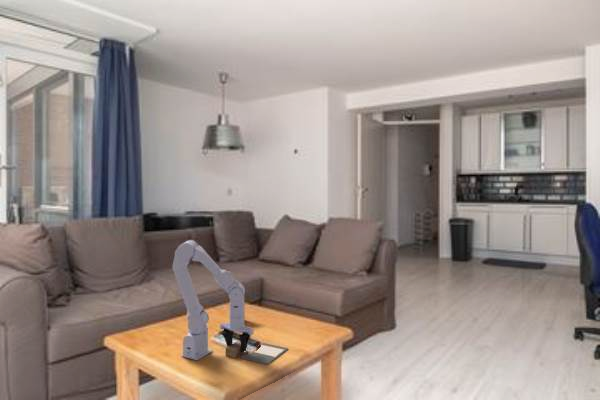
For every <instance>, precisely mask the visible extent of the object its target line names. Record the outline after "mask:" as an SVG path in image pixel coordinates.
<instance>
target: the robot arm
mask: <svg viewBox="0 0 600 400" xmlns="http://www.w3.org/2000/svg"><path fill="white" fill-rule="evenodd" d="M190 261H193V262H200V263H201V264H202V265H203V267H205V268H206V269H207V270H208V271H209V272H210V273H211V274H213V276H214V280H215V282H216V283H217V284H218V285H219V286H220V287H221V288H222V289H223V290H224V291H225V292H226V293H228V296H227V297H228V299H229V313H228V314H229V320H228V321H229V322H228V323H226V322H222V323H220V324H219V329H220V330H223V331H221V335H222V336H223V338H224V341H225V342H226V347H228V346H230V345H232V344H233V340H234V339H233V337H234V332H237V333H239V334H240V335H238V336H239V337H238V338H239V341H241V352H244V351H246V347H247V348H248V343H249V340H250V338H251V337H252V336H253V335H254V332H255V330H254V328H251V327H249V326H246V325H245V321H244V305H245V293H246V288H245V286H244V284H243V283H241V282H240V281H239V280H236V279H235V278H234V276H232V272H231V271H230V270H229V271H228V270H227V269H222V268H220V266H219V265H218V264H217V263H216V262H215V260H214V259H212V257H211V256H210V255H209V254H208V252H207V251H205V249H204V248H203V246H201V245H200V244H198V242H196V241H195V240H194V239H193V240H192V239H188V240H186V241H185V242H182V243H181V244H179V245H178V247H177V248H176V249H175V251H174V257H173V263H172V267H171V268H172V270H173V273H174V276H175V279H176V282H177V285H178V287H179V291H180V294H181V297H182V298H183V302H184V305H185V307H186V318H187V320H188V321H187V322H188V323H187V329H188V333H187V334H186V335H185V337H184V338H183V339H182V354H181V357H183V358H186V359H187V358H188V359H190V360H194V361H199V360H200V359H202V358H204V357H205V356H207V355H209V354H211V353H212V352H213V349H209V328H208V325H207V324H208V322H209V319H210V316H209V314H208V312H207V311H205V309H204V307H203V305H202V304H201V302H200V300H199V298H198V294H197V291H196V289H195V286H194V284H193V283H194V282H193V280H192V277H191V275H190V272H189V269H188V265H189V263H190Z"/></svg>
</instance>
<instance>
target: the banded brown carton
mask: <svg viewBox="0 0 600 400" xmlns="http://www.w3.org/2000/svg"><path fill="white" fill-rule="evenodd" d="M246 348H247V349H248V346H247V347H246ZM242 353H243V352H241V341H240V340H237V341H235V342H234V343H233V342H232V345H230V346H228V347H227V346H226V347H225V357H227V358H231V359H237V358H238V357H241V356H243V354H244V353H243V354H242Z"/></svg>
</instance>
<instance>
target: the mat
mask: <svg viewBox="0 0 600 400" xmlns="http://www.w3.org/2000/svg"><path fill="white" fill-rule="evenodd" d="M260 344H261V347H260V348H259V349H258V350H257V351H255V352H254V353H250V354H246V353H244V354H242V355H241V356H240V359H243V360H247V361H251V362H255V363H259V364H263V365H268V366H269V365H270V364H271V363H272V362H274V361H275V360H276V359H277V358H279V357H280V356H281V355H283V354H284V353H285V352H286V351H288V350H289V348H288V347H283V346H280V345H274V344H272V343H271V344H270V343H266V342H262V343H260Z"/></svg>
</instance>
